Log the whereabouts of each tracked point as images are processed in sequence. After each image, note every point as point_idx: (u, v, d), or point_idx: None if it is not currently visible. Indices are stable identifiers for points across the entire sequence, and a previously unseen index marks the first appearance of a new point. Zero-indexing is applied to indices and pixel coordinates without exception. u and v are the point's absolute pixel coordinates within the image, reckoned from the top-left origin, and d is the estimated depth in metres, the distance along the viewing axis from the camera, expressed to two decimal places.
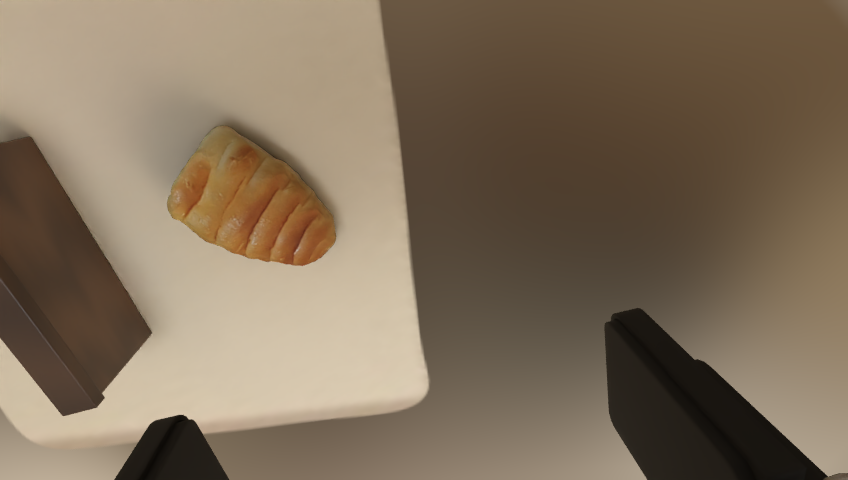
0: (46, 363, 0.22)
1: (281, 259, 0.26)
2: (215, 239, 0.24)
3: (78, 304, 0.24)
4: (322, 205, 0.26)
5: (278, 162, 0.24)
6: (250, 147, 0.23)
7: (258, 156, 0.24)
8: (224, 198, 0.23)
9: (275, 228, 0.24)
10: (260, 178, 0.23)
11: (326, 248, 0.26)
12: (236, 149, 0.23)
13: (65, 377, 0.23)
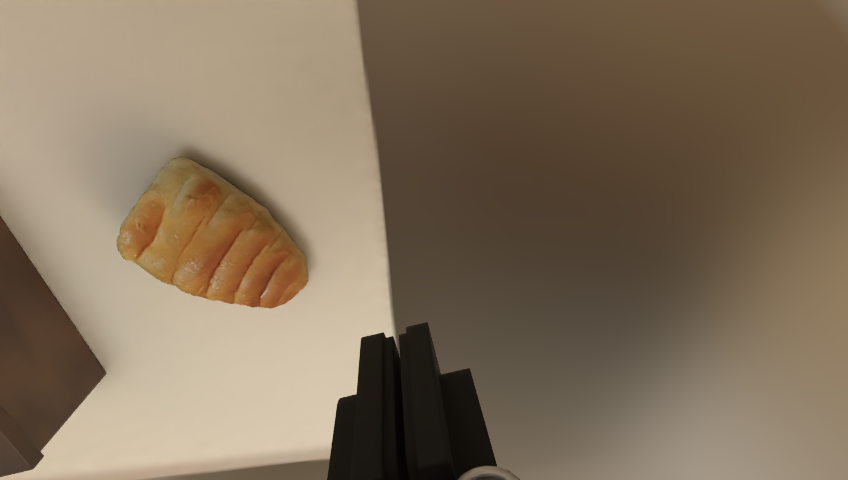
0: None
1: (246, 302, 0.24)
2: (171, 282, 0.22)
3: (15, 351, 0.22)
4: (293, 244, 0.24)
5: (244, 198, 0.22)
6: (211, 183, 0.21)
7: (220, 193, 0.21)
8: (180, 240, 0.20)
9: (238, 272, 0.22)
10: (221, 218, 0.21)
11: (297, 290, 0.24)
12: (194, 186, 0.20)
13: None
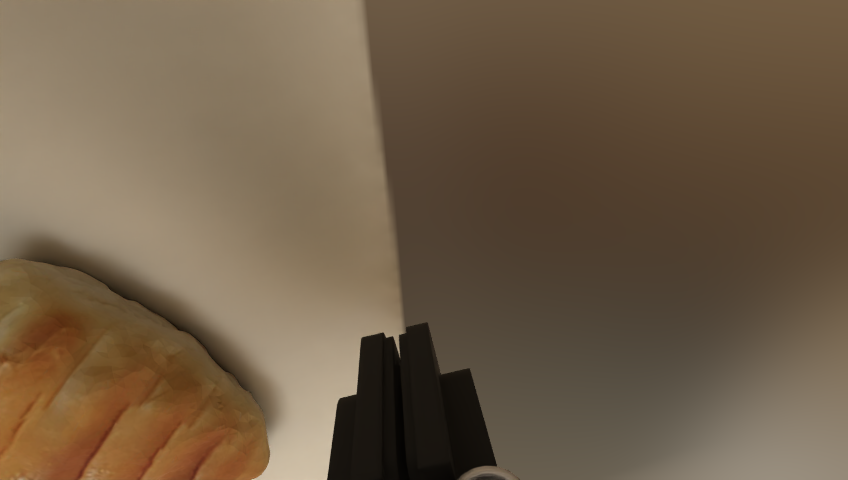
0: None
1: None
2: None
3: None
4: (240, 404, 0.13)
5: (137, 336, 0.11)
6: (63, 317, 0.10)
7: (84, 334, 0.11)
8: None
9: None
10: (77, 395, 0.10)
11: (249, 479, 0.13)
12: (19, 330, 0.10)
13: None
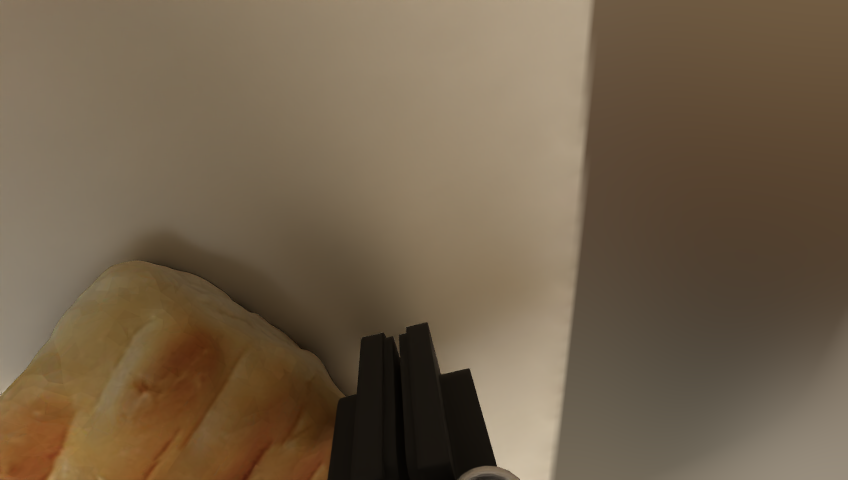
0: None
1: None
2: None
3: None
4: None
5: (275, 358, 0.10)
6: (202, 335, 0.09)
7: (222, 356, 0.09)
8: None
9: None
10: (221, 433, 0.08)
11: None
12: (157, 351, 0.08)
13: None
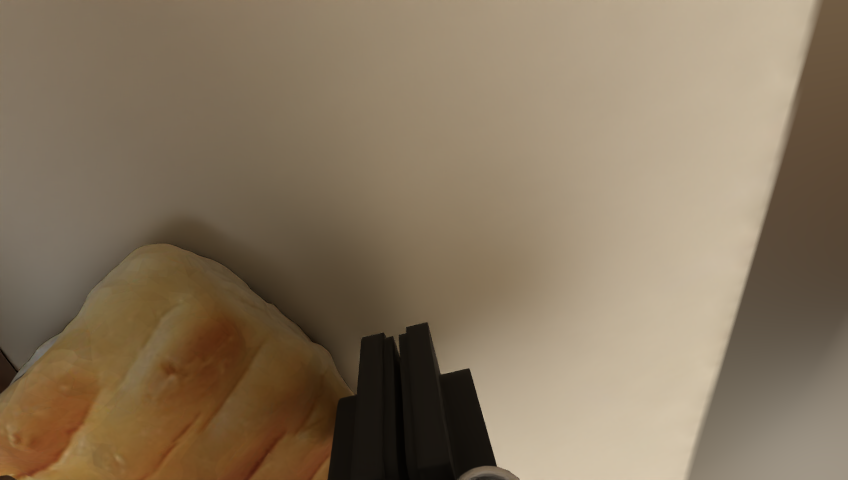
0: None
1: None
2: None
3: None
4: None
5: (293, 350, 0.10)
6: (227, 322, 0.09)
7: (244, 345, 0.09)
8: (129, 469, 0.08)
9: None
10: (241, 419, 0.08)
11: None
12: (185, 335, 0.08)
13: None
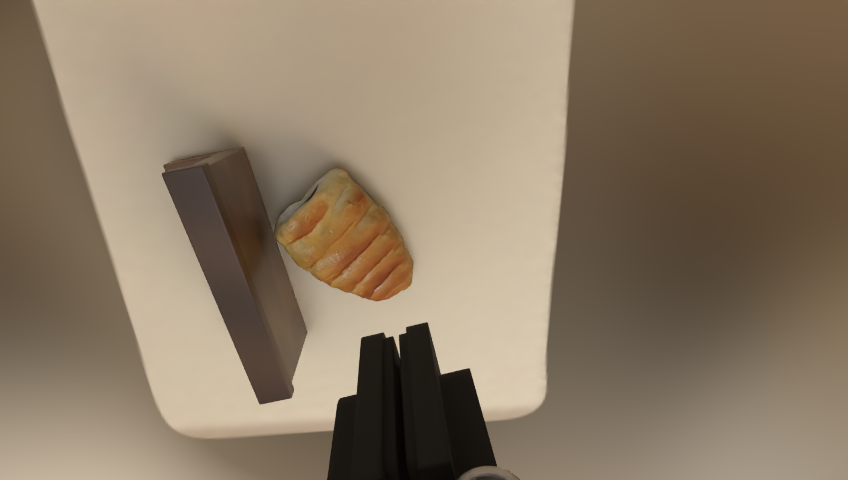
0: (260, 354, 0.24)
1: (361, 293, 0.28)
2: (311, 267, 0.27)
3: (275, 302, 0.27)
4: None
5: (381, 209, 0.27)
6: (363, 193, 0.26)
7: (367, 202, 0.26)
8: (334, 235, 0.25)
9: (367, 267, 0.27)
10: (368, 223, 0.26)
11: (401, 289, 0.29)
12: (352, 194, 0.26)
13: (272, 368, 0.25)
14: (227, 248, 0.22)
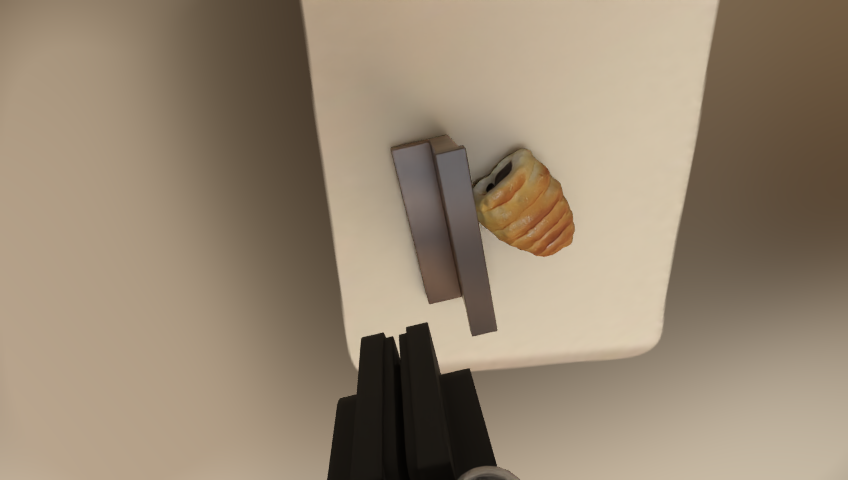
0: (480, 295, 0.31)
1: (535, 249, 0.35)
2: (503, 228, 0.34)
3: None
4: None
5: (556, 181, 0.34)
6: (546, 168, 0.33)
7: None
8: (529, 201, 0.32)
9: (547, 227, 0.34)
10: (553, 191, 0.33)
11: (564, 246, 0.36)
12: (541, 168, 0.32)
13: (487, 306, 0.32)
14: (472, 211, 0.29)
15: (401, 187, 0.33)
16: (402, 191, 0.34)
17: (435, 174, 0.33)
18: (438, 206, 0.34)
